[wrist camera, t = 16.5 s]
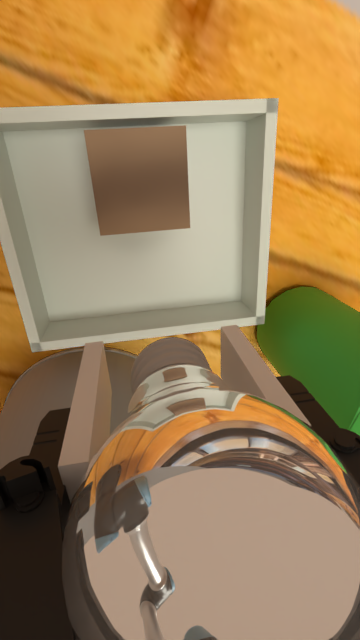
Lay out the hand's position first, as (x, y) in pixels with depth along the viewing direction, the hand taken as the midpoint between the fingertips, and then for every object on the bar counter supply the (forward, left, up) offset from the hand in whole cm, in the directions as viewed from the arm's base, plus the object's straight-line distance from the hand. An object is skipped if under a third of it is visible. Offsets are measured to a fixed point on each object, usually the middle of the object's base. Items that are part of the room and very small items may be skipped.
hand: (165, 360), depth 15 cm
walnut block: (0, +7, -15) cm, 17 cm away
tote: (0, +4, -16) cm, 16 cm away
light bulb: (0, 0, 0) cm, 0 cm away
